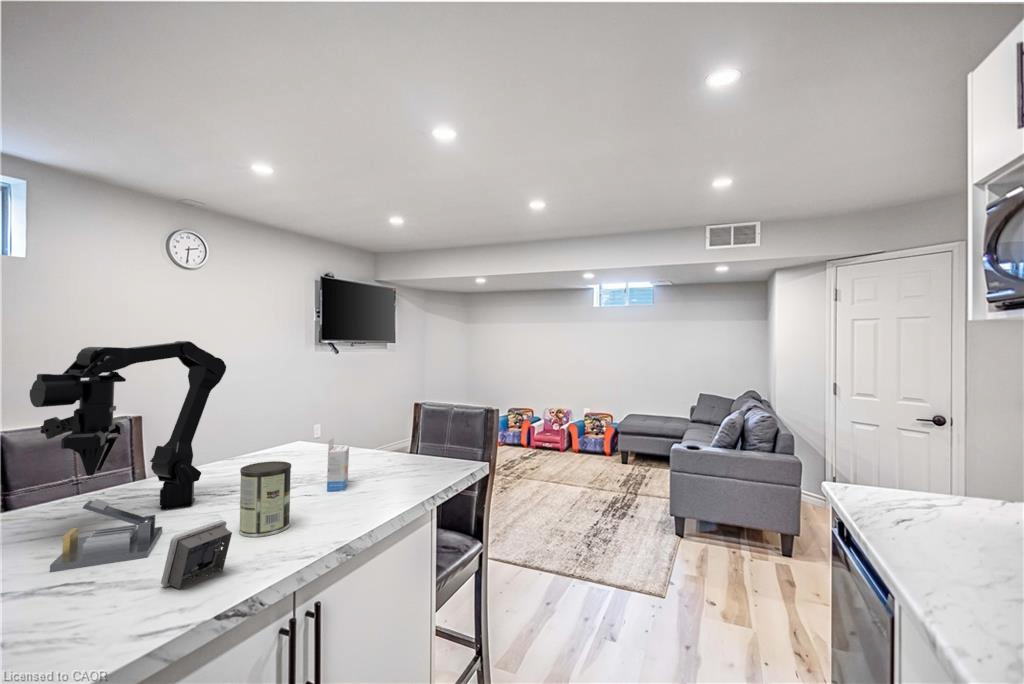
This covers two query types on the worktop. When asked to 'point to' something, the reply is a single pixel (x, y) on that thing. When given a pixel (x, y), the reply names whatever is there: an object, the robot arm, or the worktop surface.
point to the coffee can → (265, 498)
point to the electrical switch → (196, 555)
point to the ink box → (337, 467)
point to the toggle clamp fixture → (107, 545)
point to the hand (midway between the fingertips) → (94, 473)
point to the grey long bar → (114, 512)
